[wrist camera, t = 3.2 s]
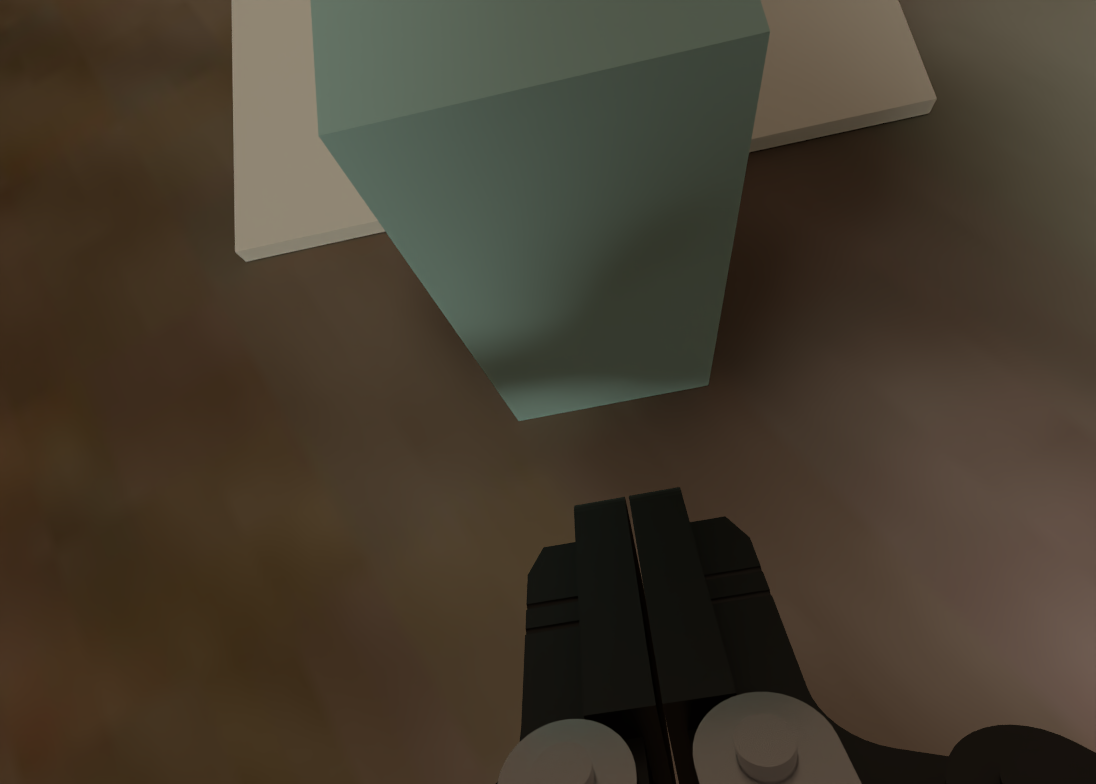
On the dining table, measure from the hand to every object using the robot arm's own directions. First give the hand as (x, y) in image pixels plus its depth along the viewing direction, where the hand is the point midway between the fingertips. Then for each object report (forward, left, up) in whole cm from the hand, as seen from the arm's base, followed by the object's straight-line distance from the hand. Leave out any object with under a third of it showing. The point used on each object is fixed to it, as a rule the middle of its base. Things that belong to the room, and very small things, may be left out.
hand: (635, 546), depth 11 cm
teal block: (0, +7, -8) cm, 10 cm away
